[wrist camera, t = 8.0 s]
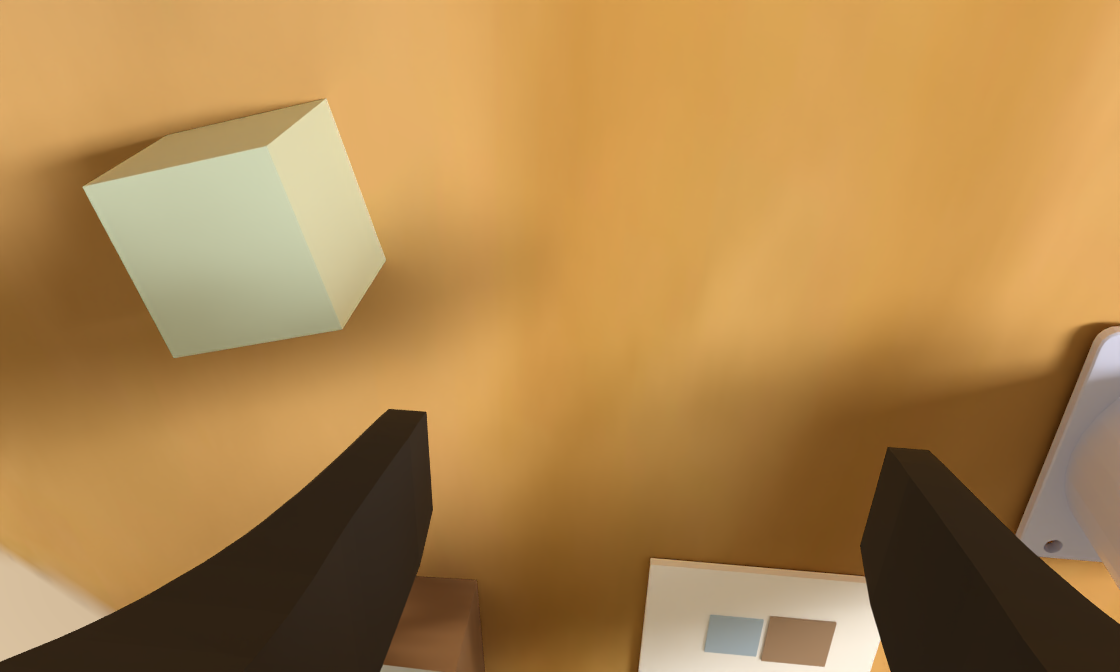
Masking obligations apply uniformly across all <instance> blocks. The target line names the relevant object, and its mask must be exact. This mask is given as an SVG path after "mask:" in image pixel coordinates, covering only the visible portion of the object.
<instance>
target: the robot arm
mask: <svg viewBox="0 0 1120 672" xmlns="http://www.w3.org/2000/svg"><path fill="white" fill-rule="evenodd" d="M432 511H433V505H432V490H431V475H430V460H429V445H428V429H427V414H426V412H421V411H408V410H395V409H388V410H387V411H386V412H385V413H384V414H382V415H381V416H380V417H379V418H378V419H377V420H376V421H375V422H374V423H373V424H372V425H371V426H370V427H369V428H368V429H367V430H366V431H365V432H364V433H363V434H362V435H361V436H360V437H359V438H357V439H356V440H355V441H354V442H353V443H352V444H351V445H350V446H349V447H348V448H347V449H346V450H345V451H344V452H343V453H342V454H341V455H340V456H339V457H338V458H336V459H335V460H334V461H333V462H332V463H331V464H330V465H329V466H328V467H327V468H325V469H324V470H323V471H322V472H321V473H320V474H319V475H318V476H317V477H315V478H314V479H313V480H312V481H311V482H310V483H309V484H308V485H307V486H305V487H304V488H303V489H302V490H301V491H300V492H298V493H297V494H296V495H295V496H294V497H292V498H291V499H290V500H289V501H287V502H286V503H285V504H284V505H283V506H281V507H280V508H279V509H278V510H276V511H275V512H274V513H273V514H271V515H270V516H269V517H268V518H267V519H265V520H264V521H263V522H261V523H260V524H259V525H257V526H256V527H255V528H253V529H252V530H251V531H249V532H248V533H247V534H245V535H244V536H243V537H241V538H240V539H238V540H237V541H235V542H234V543H232V544H231V545H229V546H228V547H226V548H225V549H223V550H222V551H220V552H219V553H217V554H216V555H215V556H213V557H211V558H210V559H208V560H207V561H205V562H204V563H202V564H200V565H199V566H197V567H195V568H193V569H192V570H190V571H188V572H187V573H185V574H183V575H181V576H180V577H178V578H176V579H174V580H173V581H171V582H169V583H168V584H166V585H164V586H162V587H161V588H159V589H157V590H156V591H154V592H152V593H150V594H149V595H147V596H145V597H143V598H141V599H139V600H137V601H135V602H133V603H131V604H129V605H127V606H125V607H124V608H122V609H120V610H118V611H116V612H114V613H112V614H110V615H108V616H105V617H103V618H101V619H99V620H97V621H95V622H93V623H91V624H89V625H86V626H85V627H82V628H80V629H78V630H76V631H73V632H71V633H69V634H67V635H64V636H62V637H60V638H58V639H55V640H53V641H50V642H48V643H45V644H43V645H40V646H38V647H36V648H33V649H31V650H28V651H26V652H23V653H21V654H18V655H16V656H13V657H11V658H8V659H6V660H4V661H1V662H0V672H380V671H381V668H382V666H383V663H384V660H385V658H386V655H387V652H388V650H389V647H390V644H391V642H392V639H393V636H394V634H395V631H396V628H397V626H398V623H399V620H400V618H401V615H402V612H403V610H404V607H405V604H406V602H407V599H408V596H409V594H410V591H411V588H412V585H413V583H414V580H415V577H416V574H417V572H418V569H419V566H420V562H421V558H422V554H423V550H424V546H425V542H426V537H427V533H428V529H429V524H430V520H431V515H432ZM1052 540H1055V541H1054V542H1052V543H1048V544H1046V543H1047V542H1049V541H1052ZM860 547H861V554H862V560H863V566H864V573H865V579H866V584H867V590H868V595H869V601H870V606H871V609H872V613H873V616H874V619H875V623H876V626H877V629H878V632H879V636H880V639H881V642H882V645H883V649H884V652H885V655H886V658H887V661H888V665H889V668H890V671H891V672H1120V624H1119V623H1117V622H1116V621H1115V620H1113V619H1112V618H1111V617H1109V616H1108V615H1107V614H1105V613H1104V612H1103V611H1102V610H1100V609H1099V608H1098V607H1097V606H1095V605H1094V604H1093V603H1092V602H1090V601H1089V600H1088V599H1087V598H1085V597H1084V596H1083V595H1082V594H1081V593H1079V592H1078V591H1077V590H1076V589H1075V588H1074V587H1073V586H1071V585H1070V584H1069V583H1068V582H1067V581H1066V580H1064V579H1063V578H1062V577H1061V576H1060V575H1059V574H1057V573H1056V572H1055V571H1054V570H1053V569H1052V568H1050V567H1049V566H1048V565H1047V564H1046V563H1045V562H1044V561H1043V560H1041V559H1040V558H1039V557H1048V558H1060V559H1072V560H1084V561H1096V562H1103V564H1104V565H1105V567H1106V568H1107V570H1108V572H1109V573H1110V575H1111V577H1112V578H1113V580H1114V581H1115V583H1116V585H1117V586H1118V588H1119V589H1120V326H1113V327H1110V328H1107V329H1105V330H1103V331H1102V332H1100V333H1099V334H1098V335H1097V336H1096V338H1095V339H1094V341H1093V343H1092V346H1091V348H1090V351H1089V353H1088V356H1087V358H1086V361H1085V363H1084V366H1083V368H1082V371H1081V373H1080V376H1079V378H1078V381H1077V383H1076V386H1075V388H1074V391H1073V393H1072V395H1071V398H1070V400H1069V403H1068V405H1067V408H1066V410H1065V413H1064V415H1063V418H1062V420H1061V423H1060V425H1059V428H1058V430H1057V433H1056V435H1055V438H1054V440H1053V443H1052V445H1051V448H1050V450H1049V453H1048V455H1047V458H1046V460H1045V463H1044V465H1043V468H1042V470H1041V473H1040V475H1039V477H1038V480H1037V482H1036V485H1035V487H1034V490H1033V492H1032V495H1031V497H1030V500H1029V502H1028V505H1027V507H1026V510H1025V512H1024V515H1023V517H1022V520H1021V522H1020V525H1019V527H1018V530H1017V532H1016V535H1014V534H1013V533H1012V532H1011V531H1010V530H1009V529H1008V528H1007V527H1006V526H1005V525H1004V524H1003V523H1002V522H1001V521H1000V520H999V519H998V518H997V517H996V516H995V515H994V514H993V513H992V512H991V511H990V510H989V509H988V508H987V507H986V506H985V505H984V504H983V503H982V502H981V501H980V500H979V499H978V498H977V497H976V496H975V495H974V494H973V493H972V492H971V491H970V490H969V489H968V488H967V487H966V486H965V485H964V484H963V483H962V482H961V481H960V480H959V479H958V478H957V477H956V476H955V475H954V474H953V473H952V472H951V471H950V470H949V469H948V468H947V467H946V466H945V465H944V464H943V463H941V462H940V461H939V460H938V459H937V458H936V457H935V456H934V455H933V454H932V453H931V452H930V451H929V450H918V449H905V448H892V447H888V448H887V452H886V455H885V459H884V463H883V466H882V470H881V473H880V477H879V480H878V484H877V488H876V491H875V495H874V498H873V502H872V505H871V509H870V513H869V516H868V520H867V523H866V527H865V530H864V534H863V538H862V541H861V545H860Z"/></svg>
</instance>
